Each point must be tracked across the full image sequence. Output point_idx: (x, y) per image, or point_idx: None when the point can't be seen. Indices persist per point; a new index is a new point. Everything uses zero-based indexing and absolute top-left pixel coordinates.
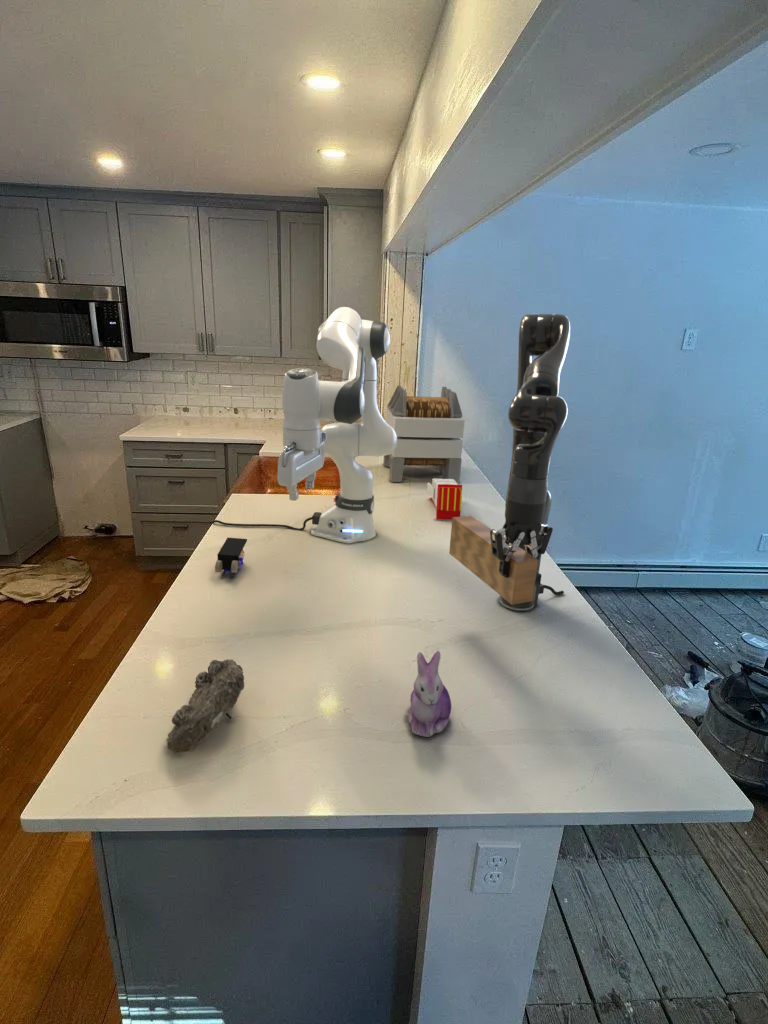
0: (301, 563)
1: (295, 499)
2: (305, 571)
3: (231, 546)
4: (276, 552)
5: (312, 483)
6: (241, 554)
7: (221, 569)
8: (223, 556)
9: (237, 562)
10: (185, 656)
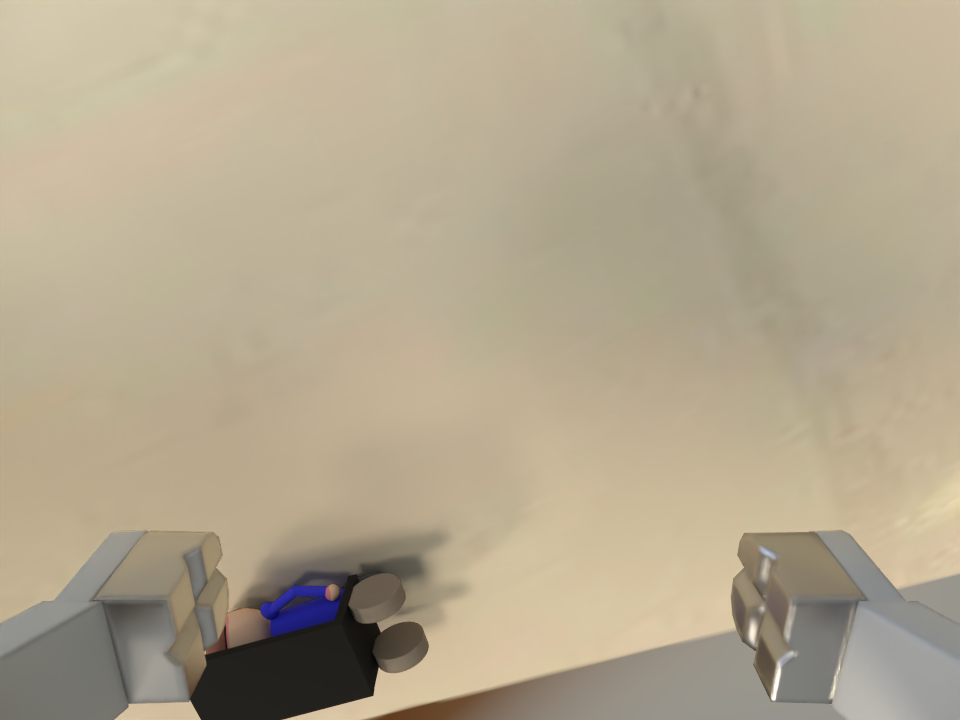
0: (116, 387)
1: (843, 543)
2: (181, 337)
3: (278, 686)
4: (79, 528)
5: (137, 589)
6: (245, 627)
7: (392, 629)
8: (365, 668)
9: (357, 602)
10: (945, 445)
